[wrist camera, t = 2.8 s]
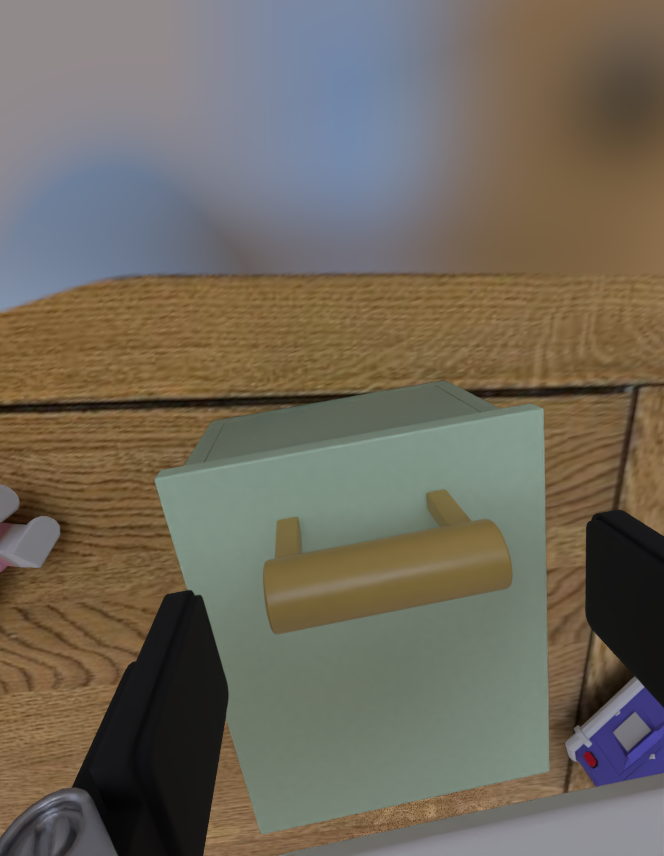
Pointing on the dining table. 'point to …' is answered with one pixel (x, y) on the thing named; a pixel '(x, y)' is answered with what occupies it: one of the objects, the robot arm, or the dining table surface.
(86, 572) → the dining table surface
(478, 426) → the lid
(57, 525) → the toy
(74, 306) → the dining table surface
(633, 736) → the toy car
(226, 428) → the chest
